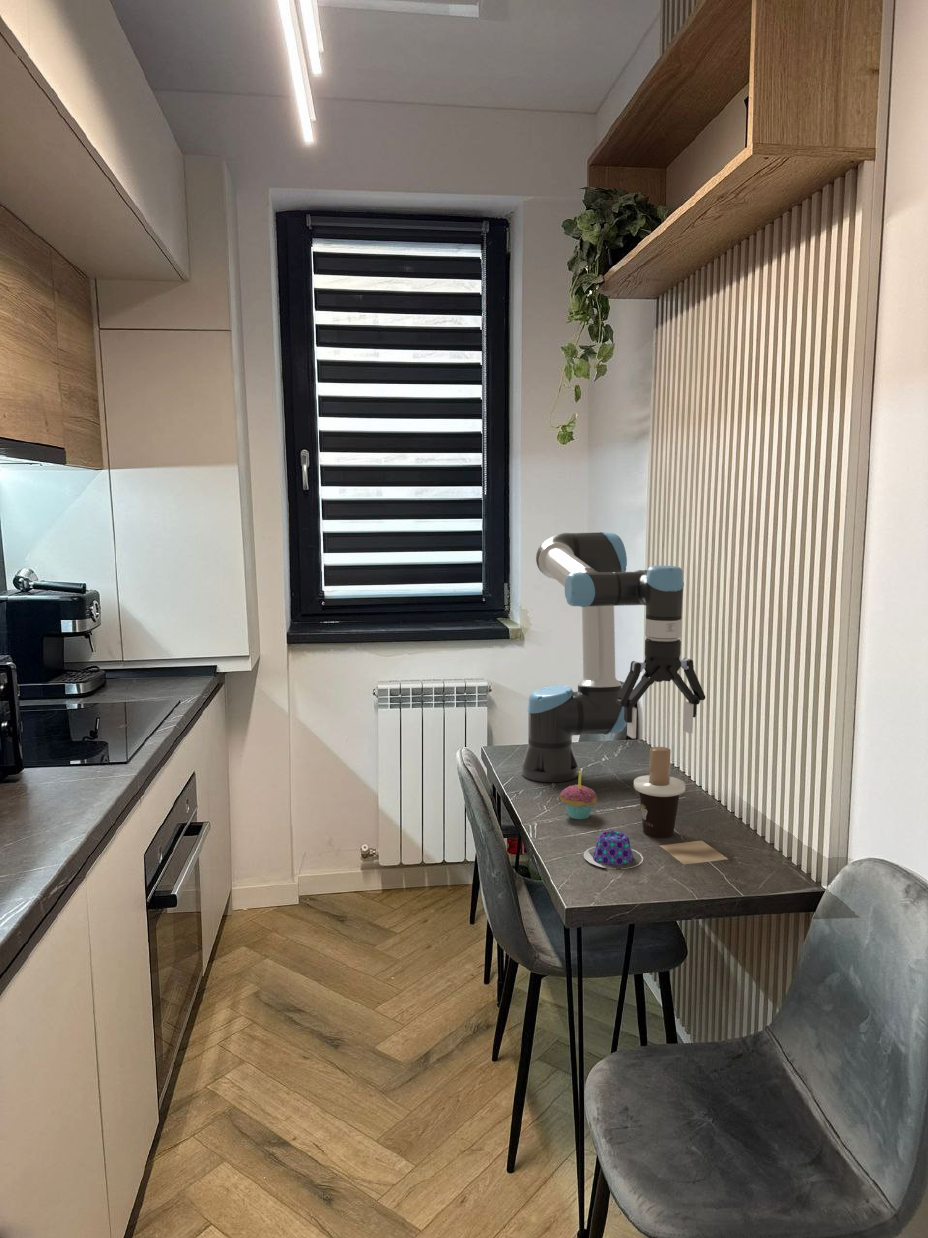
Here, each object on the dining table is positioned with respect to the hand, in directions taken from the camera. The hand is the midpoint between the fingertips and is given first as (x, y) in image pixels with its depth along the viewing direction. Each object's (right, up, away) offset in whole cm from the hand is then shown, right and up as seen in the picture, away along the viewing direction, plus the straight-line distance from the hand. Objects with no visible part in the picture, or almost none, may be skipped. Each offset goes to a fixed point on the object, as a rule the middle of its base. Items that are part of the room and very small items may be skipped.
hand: (659, 734), depth 184 cm
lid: (0, -12, +1) cm, 12 cm away
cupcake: (-16, -21, +12) cm, 29 cm away
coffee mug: (0, -22, +2) cm, 22 cm away
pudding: (-12, -24, -12) cm, 30 cm away
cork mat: (+5, -23, -10) cm, 26 cm away
